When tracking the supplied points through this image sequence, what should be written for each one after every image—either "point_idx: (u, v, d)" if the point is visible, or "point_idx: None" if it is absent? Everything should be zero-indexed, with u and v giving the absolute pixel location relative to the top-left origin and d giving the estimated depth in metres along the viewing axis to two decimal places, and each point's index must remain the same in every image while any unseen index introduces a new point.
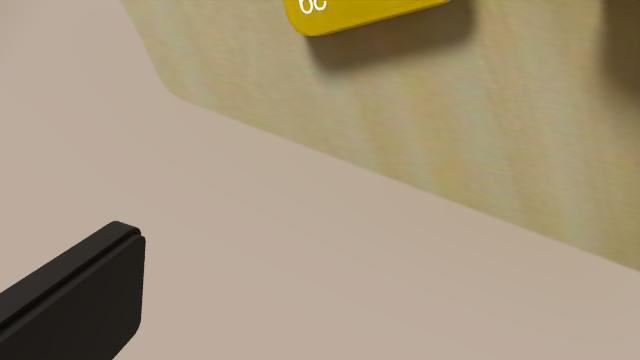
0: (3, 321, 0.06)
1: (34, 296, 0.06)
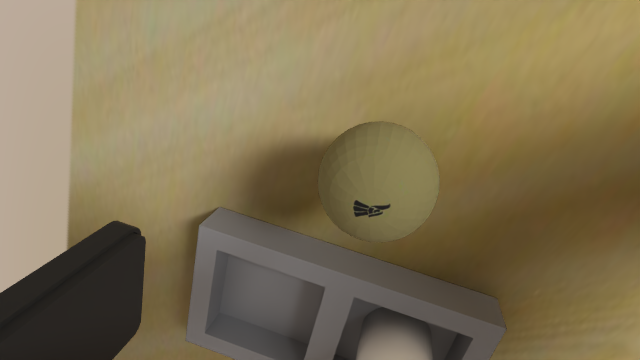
0: (3, 321, 0.06)
1: (34, 296, 0.06)
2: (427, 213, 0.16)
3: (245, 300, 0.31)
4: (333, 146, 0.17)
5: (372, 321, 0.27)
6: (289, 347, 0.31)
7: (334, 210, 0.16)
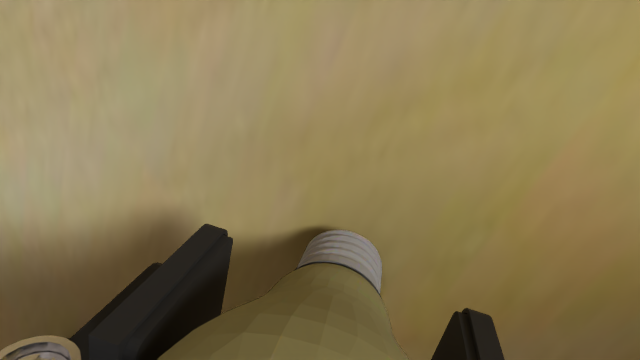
0: (147, 313, 0.06)
1: (164, 292, 0.07)
2: None
3: None
4: None
5: None
6: None
7: None
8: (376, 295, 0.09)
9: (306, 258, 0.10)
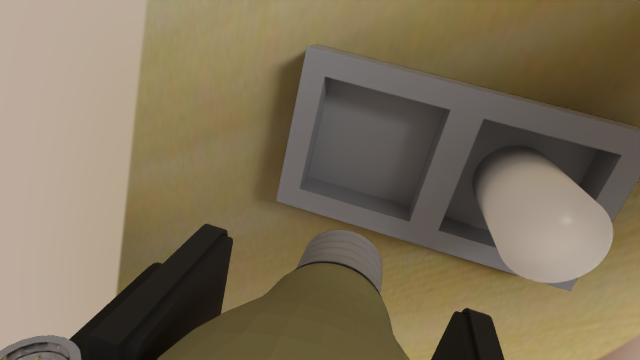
0: (147, 314, 0.06)
1: (164, 292, 0.07)
2: None
3: (340, 158, 0.28)
4: None
5: (494, 158, 0.25)
6: (390, 206, 0.28)
7: None
8: (376, 295, 0.09)
9: (306, 258, 0.10)
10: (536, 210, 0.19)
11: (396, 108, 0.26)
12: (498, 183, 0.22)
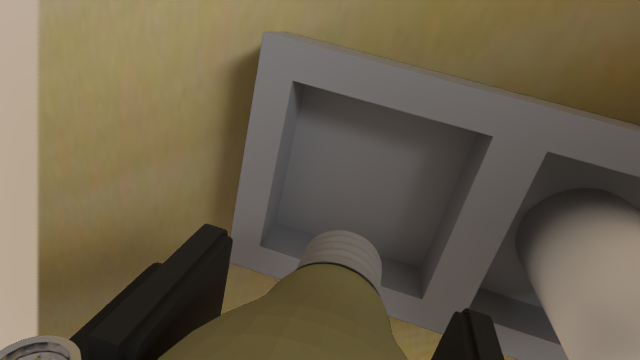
0: (147, 313, 0.06)
1: (164, 292, 0.07)
2: None
3: (320, 197, 0.20)
4: None
5: (555, 209, 0.16)
6: (393, 270, 0.19)
7: None
8: (376, 296, 0.09)
9: (306, 259, 0.10)
10: None
11: (404, 129, 0.17)
12: (575, 261, 0.13)
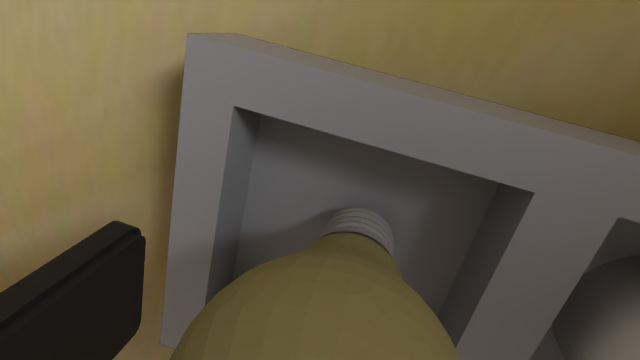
0: (4, 320, 0.06)
1: (34, 296, 0.06)
2: None
3: None
4: (184, 345, 0.06)
5: (617, 289, 0.11)
6: None
7: None
8: (391, 258, 0.10)
9: (327, 231, 0.12)
10: None
11: (400, 169, 0.13)
12: None
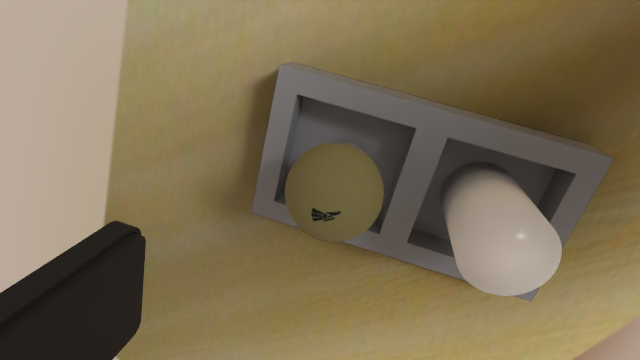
0: (4, 320, 0.06)
1: (34, 296, 0.06)
2: (372, 218, 0.20)
3: None
4: (296, 163, 0.21)
5: (459, 174, 0.26)
6: None
7: (297, 216, 0.20)
8: None
9: None
10: (490, 228, 0.20)
11: (367, 125, 0.27)
12: (459, 199, 0.23)
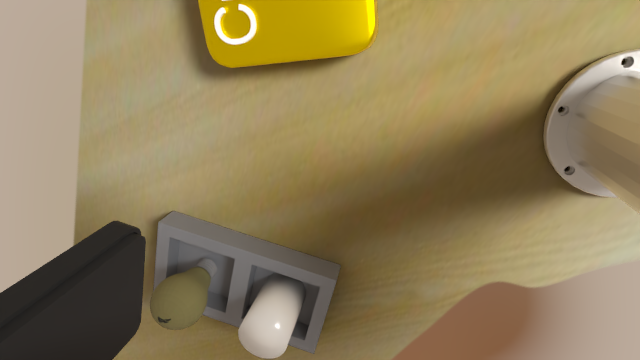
0: (3, 321, 0.06)
1: (34, 296, 0.06)
2: (193, 318, 0.39)
3: None
4: (155, 289, 0.39)
5: (267, 280, 0.44)
6: (220, 300, 0.47)
7: None
8: (206, 273, 0.43)
9: None
10: (251, 325, 0.38)
11: None
12: (253, 302, 0.42)
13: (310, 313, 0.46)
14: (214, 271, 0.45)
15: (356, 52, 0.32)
